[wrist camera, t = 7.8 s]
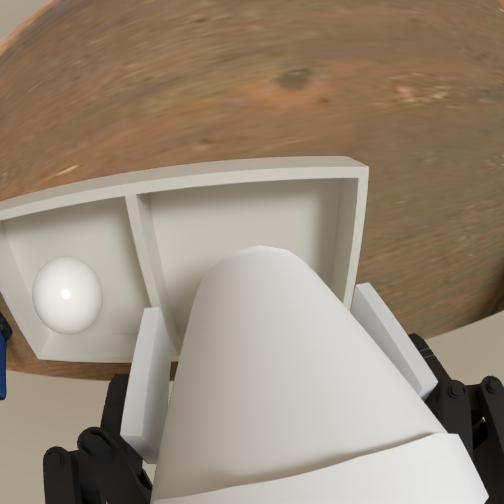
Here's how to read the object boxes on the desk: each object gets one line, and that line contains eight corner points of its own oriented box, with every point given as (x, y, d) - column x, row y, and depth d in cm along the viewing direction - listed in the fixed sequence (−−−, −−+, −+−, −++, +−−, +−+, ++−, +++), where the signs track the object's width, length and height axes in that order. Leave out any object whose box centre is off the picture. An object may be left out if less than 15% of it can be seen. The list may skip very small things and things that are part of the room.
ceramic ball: (118, 259, 18) (95, 306, 13) (104, 312, 20) (86, 361, 15) (54, 232, 16) (18, 271, 12) (48, 287, 18) (21, 331, 14)
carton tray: (346, 156, 17) (369, 166, 14) (330, 315, 23) (343, 340, 20) (-5, 202, 15) (-28, 219, 12) (50, 335, 21) (38, 359, 18)
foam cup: (241, 377, 18) (273, 566, 7) (130, 294, 14) (81, 563, 3) (367, 298, 16) (479, 491, 5) (281, 173, 12) (519, 511, 1)
